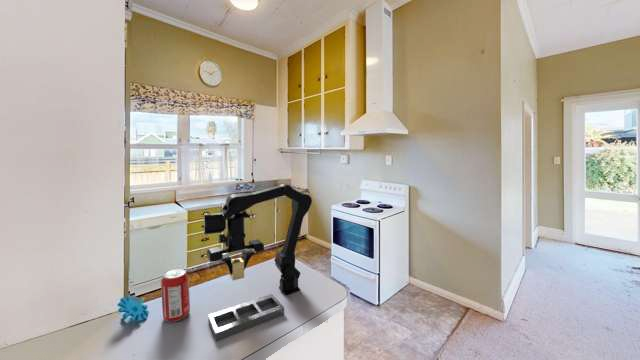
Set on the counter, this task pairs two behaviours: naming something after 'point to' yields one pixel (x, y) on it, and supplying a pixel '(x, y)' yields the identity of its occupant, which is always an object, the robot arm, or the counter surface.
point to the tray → (248, 321)
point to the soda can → (175, 295)
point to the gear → (133, 309)
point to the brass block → (237, 269)
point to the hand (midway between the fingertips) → (236, 272)
